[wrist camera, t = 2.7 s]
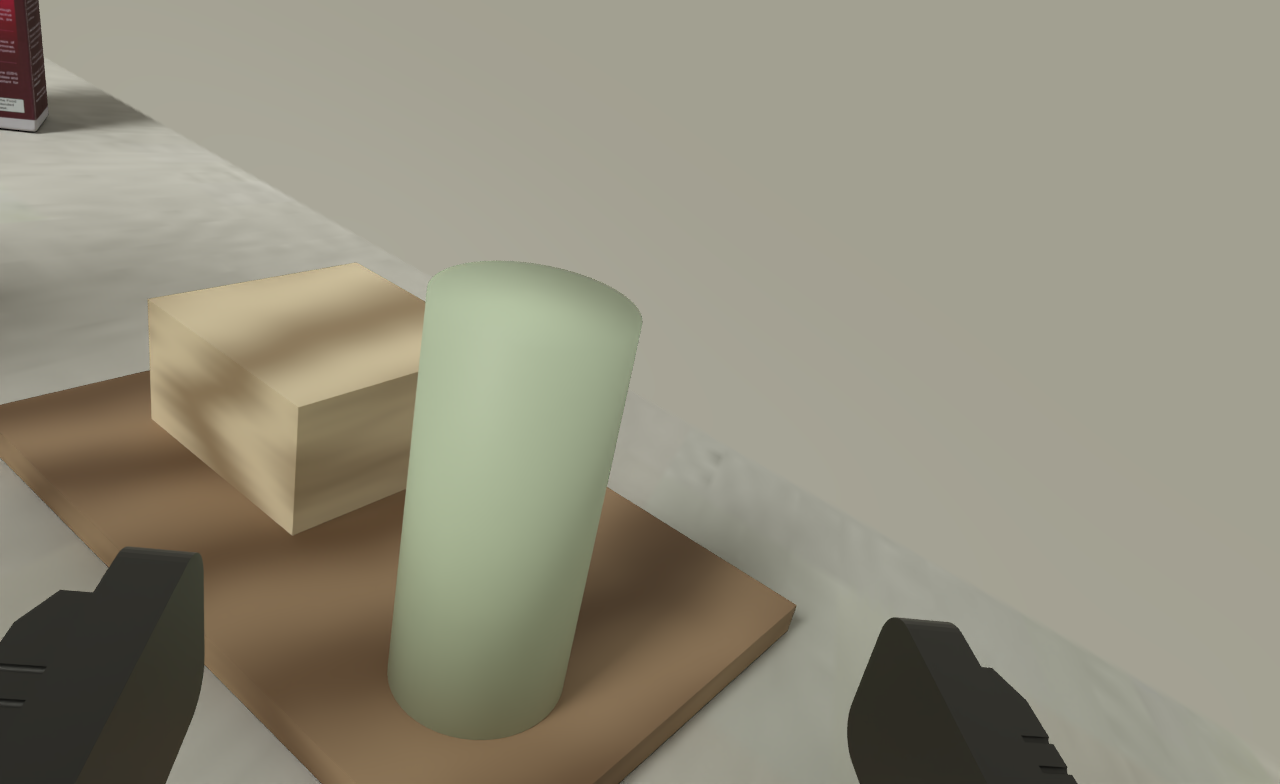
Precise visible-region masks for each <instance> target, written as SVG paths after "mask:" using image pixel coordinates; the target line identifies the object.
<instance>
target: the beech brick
mask: <svg viewBox="0 0 1280 784" xmlns="http://www.w3.org/2000/svg"><path fill="white" fill-rule="evenodd" d="M425 303H426V302H425V301H423V300H421V299H419V298H418V297H416V296H414V295H412V294H411V293H409V292H407V291H405V290H404V289H402V288H400V287H398V286H397V285H395V284H393V283H391V282H390V281H388V280H386V279H384V278H383V277H381V276H379V275H377V274H376V273H374V272H372V271H370V270H369V269H367V268H365V267H363V266H362V265H360V264H358V263H351V264H345V265H339V266H334V267H328V268H322V269H316V270H311V271H305V272H299V273H294V274H288V275H282V276H276V277H271V278H265V279H259V280H253V281H248V282H242V283H236V284H231V285H225V286H219V287H213V288H208V289H202V290H196V291H190V292H185V293H179V294H173V295H167V296H162V297H156V298H150V299H148V323H149V354H150V385H151V416H152V420H154V421H155V422H156V423H157V424H158V425H160V426H161V427H162V428H163V429H164V430H166V431H167V432H168V433H169V434H170V435H172V436H173V437H174V438H175V439H176V440H178V441H179V442H180V443H181V444H182V445H184V446H185V447H186V448H187V449H189V450H190V451H191V452H192V453H193V454H195V455H196V456H197V457H198V458H199V459H201V460H202V461H203V462H204V463H205V464H207V465H208V466H209V467H210V468H211V469H213V470H214V471H215V472H216V473H217V474H219V475H220V476H221V477H222V478H223V479H225V480H226V481H227V482H228V483H229V484H231V485H232V486H233V487H234V488H235V489H237V490H238V491H239V492H240V493H241V494H243V495H244V496H245V497H246V498H247V499H249V500H250V501H251V502H252V503H254V504H255V505H256V506H257V507H258V508H260V509H261V510H262V511H263V512H264V513H266V514H267V515H268V516H269V517H270V518H272V519H273V520H274V521H275V522H276V523H278V524H279V525H280V526H281V527H282V528H284V529H285V530H286V531H287V532H288V533H290V534H291V535H292V536H293V535H295V534H298V533H300V532H302V531H305V530H307V529H310V528H312V527H315V526H317V525H319V524H322V523H324V522H327V521H329V520H332V519H334V518H336V517H339V516H341V515H344V514H346V513H349V512H351V511H353V510H356V509H358V508H361V507H363V506H366V505H368V504H370V503H373V502H375V501H378V500H380V499H383V498H385V497H387V496H390V495H392V494H395V493H397V492H400V491H402V490H404V489H406V486H407V476H408V466H409V457H410V447H411V438H412V428H413V418H414V409H415V399H416V389H417V380H418V370H419V361H420V351H421V341H422V332H423V322H424V312H425Z"/></svg>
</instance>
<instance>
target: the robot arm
mask: <svg viewBox="0 0 1280 784" xmlns="http://www.w3.org/2000/svg"><path fill="white" fill-rule="evenodd" d="M204 660H205V644H204V568H203V560H202V556H201V555H200V553H197V552H186V551H175V550H163V549H152V548H141V547H130V546H127V547H124V548H123V549H122V550H121V551H120V552H119V553H118V554H117V556H116V557H115V559H114V560H113V562H112V563H111V565H110V567H109V568H108V570H107V571H106V573H105V575H104V576H103V578H102V579H101V581H100V583H99V584H98V586H97V587H96V589H95V591H94V592H93V593H92V592H80V591H67V590H59V591H58V592H57V593H55V594H54V595H52V596H51V597H49V598H48V599H47V600H45V601H44V602H42V603H41V604H39V605H38V606H37V607H35V608H34V609H32V610H31V611H30V612H28V613H27V614H25V615H24V616H22V617H21V618H20V619H18V620H17V621H15V622H14V623H13V625H12V626H11V628H10V629H9V630H8V632H7V633H6V635H5V636H4V637H3V639H2V640H1V642H0V784H165V783H166V781H167V779H168V776H169V774H170V771H171V769H172V766H173V764H174V762H175V759H176V757H177V754H178V752H179V749H180V747H181V745H182V742H183V740H184V737H185V735H186V732H187V730H188V727H189V725H190V723H191V720H192V718H193V715H194V712H195V709H196V706H197V702H198V698H199V694H200V690H201V685H202V679H203V672H204ZM847 738H848V747H849V753H850V757H851V760H852V763H853V766H854V769H855V772H856V774H857V777H858V780H859V782H860V784H1077V782H1076V781H1075V779H1074V777H1073V776H1072V775H1068V774H1067V766H1066V764H1065V763H1064V761H1063V759H1062V758H1061V756H1060V754H1059V753H1058V751H1057V750H1056V748H1055V746H1054V745H1053V744H1049V742H1048V738H1049V737H1048V735H1047V733H1046V732H1045V730H1044V728H1043V727H1042V725H1041V723H1040V722H1039V720H1038V719H1037V717H1036V715H1035V714H1034V712H1033V710H1032V709H1031V707H1030V706H1029V704H1028V702H1027V701H1026V700H1025V699H1024V698H1023V697H1022V696H1021V695H1020V694H1019V693H1018V692H1017V691H1016V690H1015V689H1014V688H1013V687H1011V686H1010V685H1009V684H1008V683H1007V682H1006V681H1005V680H1004V679H1003V678H1002V677H1001V676H1000V675H999V674H998V673H997V672H996V671H995V670H994V669H992V668H985V667H981V666H980V664H979V662H978V660H977V659H976V657H975V655H974V654H973V652H972V650H971V648H970V647H969V645H968V643H967V642H966V640H965V638H964V636H963V635H962V633H961V632H960V630H959V629H958V628H957V627H956V626H955V625H954V624H952V623H949V622H940V621H929V620H918V619H907V618H896V617H895V618H891V619H889V620H888V621H887V622H886V623H885V624H884V626H883V627H882V630H881V632H880V634H879V637H878V639H877V642H876V644H875V647H874V649H873V652H872V654H871V657H870V659H869V662H868V664H867V667H866V669H865V672H864V675H863V677H862V680H861V682H860V685H859V687H858V690H857V692H856V695H855V697H854V700H853V702H852V705H851V708H850V712H849V717H848V727H847Z"/></svg>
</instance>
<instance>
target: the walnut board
mask: <svg viewBox="0 0 1280 784" xmlns="http://www.w3.org/2000/svg"><path fill="white" fill-rule="evenodd" d="M0 458H1V459H2V460H3V461H4V462H5V463H6V464H7V465H8V466H9V467H10V468H11V469H12V470H13V471H14V472H15V473H16V474H17V475H18V476H19V477H20V478H21V479H22V480H23V481H24V482H25V483H26V484H27V485H28V486H29V487H30V488H31V489H32V490H33V491H34V492H35V493H36V494H37V495H38V496H39V497H40V498H41V499H42V500H43V501H44V502H45V503H46V504H47V505H48V506H49V507H50V508H51V509H52V510H53V511H54V512H55V513H56V514H57V515H58V516H59V517H60V518H61V519H62V521H63V522H64V523H65V524H66V525H67V526H68V527H69V528H70V529H71V530H72V531H73V532H74V533H75V534H76V535H77V536H78V537H79V538H80V539H81V540H82V541H83V542H84V543H85V544H86V545H87V546H88V547H89V548H90V549H91V550H92V551H93V552H94V553H95V554H96V555H97V556H98V557H99V558H100V559H101V560H102V561H103V562H104V563H105V564H106V565H107V566H108V567H110V565H111V563H112V562H113V560H114V559H115V557H116V556H117V554H118V553H119V552H120V551H121V550H122V549H123V548H124V547H127V546H130V547H141V548H152V549H163V550H175V551H186V552H197V553H200V555H201V556H202V560H203V568H204V644H205V660H204V664H205V665H206V666H207V668H208V669H209V670H210V671H211V672H212V673H213V674H214V675H215V676H216V677H217V678H218V679H219V680H220V681H221V682H222V683H223V684H224V685H225V686H226V687H227V688H228V689H229V690H230V691H231V692H232V693H233V694H234V695H235V696H236V697H237V698H238V699H239V700H240V701H241V702H242V703H243V704H244V705H245V706H246V707H247V708H248V709H249V710H250V711H251V712H252V713H253V714H254V715H255V716H256V717H257V718H258V719H259V720H260V721H261V722H262V723H263V724H264V725H265V726H266V727H267V728H268V729H269V730H270V731H271V732H272V733H273V734H274V735H275V736H276V737H277V738H278V739H279V741H280V742H281V743H282V744H283V745H284V746H285V747H286V748H287V749H288V750H289V751H290V752H291V753H292V754H293V755H294V756H295V757H296V758H297V759H298V760H299V761H300V762H301V763H302V764H303V765H304V766H305V767H306V768H307V769H308V770H309V771H310V772H311V773H312V774H313V775H314V776H315V777H316V778H317V779H318V780H319V781H320V782H321V783H322V784H618V783H620V782H621V781H622V780H623V779H624V778H625V777H626V776H627V775H628V774H630V773H631V772H632V771H633V770H634V769H635V768H636V767H637V766H638V765H640V764H641V763H642V762H643V761H644V760H645V759H646V758H647V757H648V756H649V755H651V754H652V753H653V752H654V751H655V750H656V749H657V748H658V747H659V746H661V745H662V744H663V743H664V742H665V741H666V740H667V739H668V738H669V737H670V736H672V735H673V734H674V733H675V732H676V731H677V730H678V729H679V728H680V727H682V726H683V725H684V724H685V723H686V722H687V721H688V720H689V719H690V718H691V717H693V716H694V715H695V714H696V713H697V712H698V711H699V710H700V709H701V708H703V707H704V706H705V705H706V704H707V703H708V702H709V701H710V700H711V699H713V698H714V697H715V696H716V695H717V694H718V693H719V692H720V691H721V690H722V689H724V688H725V687H726V686H727V685H728V684H729V683H730V682H731V681H732V680H734V679H735V678H736V677H737V676H738V675H739V674H740V673H741V672H742V671H743V670H745V669H746V668H747V667H748V666H749V665H750V664H751V663H752V662H753V661H755V660H756V659H757V658H758V657H759V656H760V655H761V654H762V653H763V652H764V651H766V650H767V649H768V648H769V647H770V646H771V645H772V644H773V643H774V642H776V641H777V640H778V639H779V638H780V637H781V636H782V635H783V634H784V633H786V632H787V631H788V628H789V625H790V622H791V620H792V617H793V614H794V611H795V609H796V606H797V605H795V604H794V603H792V602H790V601H789V600H787V599H786V598H784V597H782V596H781V595H779V594H778V593H776V592H774V591H773V590H771V589H770V588H768V587H766V586H765V585H763V584H762V583H760V582H758V581H757V580H755V579H754V578H752V577H750V576H749V575H747V574H746V573H744V572H742V571H741V570H739V569H738V568H736V567H734V566H733V565H731V564H730V563H728V562H726V561H725V560H723V559H722V558H720V557H718V556H717V555H715V554H714V553H712V552H710V551H709V550H707V549H706V548H704V547H702V546H701V545H699V544H698V543H696V542H694V541H693V540H691V539H690V538H688V537H686V536H685V535H683V534H681V533H680V532H678V531H677V530H675V529H673V528H672V527H670V526H669V525H667V524H665V523H664V522H662V521H661V520H659V519H657V518H656V517H654V516H653V515H651V514H649V513H648V512H646V511H645V510H643V509H641V508H640V507H638V506H637V505H635V504H633V503H632V502H630V501H629V500H627V499H625V498H624V497H622V496H621V495H619V494H617V493H616V492H614V491H613V490H611V489H609V488H608V487H607V488H606V492H605V497H604V502H603V506H602V511H601V515H600V520H599V525H598V529H597V534H596V538H595V543H594V547H593V552H592V557H591V561H590V566H589V570H588V575H587V580H586V584H585V589H584V593H583V598H582V602H581V607H580V612H579V616H578V621H577V625H576V630H575V635H574V639H573V644H572V648H571V653H570V657H569V662H568V667H567V671H566V676H565V680H564V685H563V690H562V693H561V696H560V698H559V701H558V702H557V704H556V706H555V707H554V709H553V710H552V711H551V712H550V713H549V715H548V716H546V717H545V718H544V719H543V720H542V721H541V722H539V723H538V724H536V725H535V726H533V727H532V728H529V729H527V730H525V731H523V732H521V733H518V734H515V735H512V736H509V737H504V738H500V739H491V740H469V739H460V738H456V737H451V736H447V735H444V734H441V733H438V732H436V731H433V730H431V729H429V728H427V727H425V726H423V725H422V724H420V723H418V722H417V721H415V720H414V719H413V718H412V717H410V716H409V715H408V714H407V713H406V712H405V711H404V710H403V709H402V708H401V707H400V705H399V704H398V703H397V701H396V700H395V698H394V696H393V694H392V692H391V689H390V686H389V683H388V676H387V671H388V659H389V649H390V640H391V630H392V620H393V611H394V601H395V592H396V582H397V572H398V563H399V553H400V543H401V534H402V524H403V515H404V505H405V495H406V489H404V490H402V491H400V492H397V493H395V494H392V495H390V496H387V497H385V498H383V499H380V500H378V501H375V502H373V503H370V504H368V505H366V506H363V507H361V508H358V509H356V510H353V511H351V512H349V513H346V514H344V515H341V516H339V517H336V518H334V519H332V520H329V521H327V522H324V523H322V524H319V525H317V526H315V527H312V528H310V529H307V530H305V531H302V532H300V533H298V534H295V535H293V536H292V535H291V534H290V533H288V532H287V531H286V530H285V529H284V528H282V527H281V526H280V525H279V524H278V523H276V522H275V521H274V520H273V519H272V518H270V517H269V516H268V515H267V514H266V513H264V512H263V511H262V510H261V509H260V508H258V507H257V506H256V505H255V504H254V503H252V502H251V501H250V500H249V499H247V498H246V497H245V496H244V495H243V494H241V493H240V492H239V491H238V490H237V489H235V488H234V487H233V486H232V485H231V484H229V483H228V482H227V481H226V480H225V479H223V478H222V477H221V476H220V475H219V474H217V473H216V472H215V471H214V470H213V469H211V468H210V467H209V466H208V465H207V464H205V463H204V462H203V461H202V460H201V459H199V458H198V457H197V456H196V455H195V454H193V453H192V452H191V451H190V450H189V449H187V448H186V447H185V446H184V445H182V444H181V443H180V442H179V441H178V440H176V439H175V438H174V437H173V436H172V435H170V434H169V433H168V432H167V431H166V430H164V429H163V428H162V427H161V426H160V425H158V424H157V423H156V422H155V421H154V420H152V416H151V385H150V370H149V371H144V372H140V373H136V374H131V375H127V376H123V377H118V378H114V379H110V380H105V381H101V382H97V383H93V384H88V385H84V386H80V387H75V388H71V389H67V390H62V391H58V392H54V393H49V394H45V395H41V396H37V397H32V398H28V399H24V400H19V401H15V402H11V403H6V404H2V405H0Z"/></svg>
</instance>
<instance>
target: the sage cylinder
mask: <svg viewBox="0 0 1280 784" xmlns="http://www.w3.org/2000/svg"><path fill="white" fill-rule="evenodd" d="M641 327H642V316H641V314H640V312H639V310H638V308H637V307H636V306H635V305H634V304H633V303H632V302H631V301H630V300H629V299H628V298H627V297H626V296H624V295H623V294H621V293H620V292H618V291H617V290H615V289H613V288H611V287H609V286H607V285H606V284H604V283H601V282H599V281H597V280H595V279H592V278H589V277H586V276H584V275H581V274H578V273H575V272H571V271H568V270H564V269H560V268H555V267H551V266H546V265H540V264H534V263H526V262H514V261H482V262H481V261H480V262H471V263H465V264H460V265H456V266H453V267H450V268H447V269H445V270H443V271H441V272H439V273H438V274H436V275H435V276H434V277H433V278H432V279H431V280H430V281H429V283H428V286H427V293H426V303H425V312H424V322H423V332H422V341H421V351H420V361H419V370H418V380H417V389H416V399H415V409H414V418H413V428H412V438H411V447H410V457H409V466H408V476H407V486H406V495H405V505H404V515H403V524H402V534H401V543H400V553H399V563H398V572H397V582H396V592H395V601H394V611H393V620H392V630H391V640H390V649H389V659H388V671H387V676H388V683H389V686H390V689H391V692H392V694H393V696H394V698H395V700H396V701H397V703H398V704H399V705H400V707H401V708H402V709H403V710H404V711H405V712H406V713H407V714H408V715H409V716H410V717H412V718H413V719H414V720H415V721H417V722H418V723H420V724H422V725H423V726H425V727H427V728H429V729H431V730H433V731H436V732H438V733H441V734H444V735H447V736H451V737H456V738H460V739H469V740H491V739H500V738H504V737H509V736H512V735H515V734H518V733H521V732H523V731H525V730H527V729H529V728H532V727H533V726H535V725H536V724H538V723H539V722H541V721H542V720H543V719H544V718H545V717H546V716H548V715H549V713H550V712H551V711H552V710H553V709H554V707H555V706H556V704H557V702H558V701H559V698H560V696H561V693H562V690H563V685H564V680H565V676H566V671H567V667H568V662H569V657H570V653H571V648H572V644H573V639H574V635H575V630H576V625H577V621H578V616H579V612H580V607H581V602H582V598H583V593H584V589H585V584H586V580H587V575H588V570H589V566H590V561H591V557H592V552H593V547H594V543H595V538H596V534H597V529H598V525H599V520H600V515H601V511H602V506H603V502H604V497H605V492H606V488H607V483H608V479H609V474H610V470H611V465H612V460H613V456H614V451H615V447H616V442H617V437H618V433H619V428H620V424H621V419H622V415H623V410H624V405H625V401H626V396H627V392H628V387H629V382H630V378H631V373H632V369H633V364H634V360H635V355H636V350H637V346H638V341H639V337H640V332H641Z"/></svg>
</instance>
